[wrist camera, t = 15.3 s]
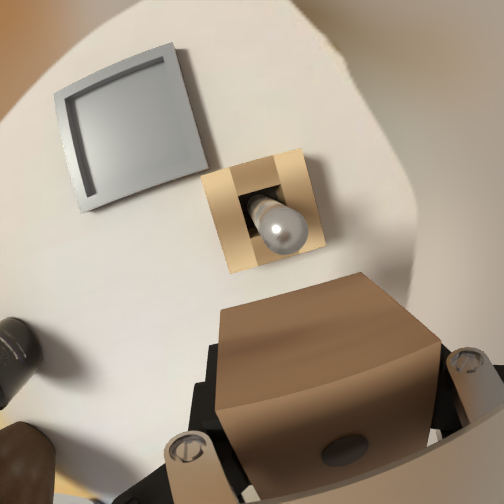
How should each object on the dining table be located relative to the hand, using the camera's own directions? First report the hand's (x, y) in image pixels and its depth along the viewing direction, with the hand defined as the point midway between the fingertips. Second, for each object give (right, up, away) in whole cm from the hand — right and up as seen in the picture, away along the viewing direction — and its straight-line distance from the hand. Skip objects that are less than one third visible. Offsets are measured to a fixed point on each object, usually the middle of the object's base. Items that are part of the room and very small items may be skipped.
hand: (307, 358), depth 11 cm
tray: (-12, +14, +12) cm, 22 cm away
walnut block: (0, 0, 0) cm, 1 cm away
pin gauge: (-1, +7, +14) cm, 16 cm away
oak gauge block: (-1, +7, +14) cm, 16 cm away
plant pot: (-33, -23, +20) cm, 45 cm away
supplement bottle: (-28, -6, +16) cm, 32 cm away
